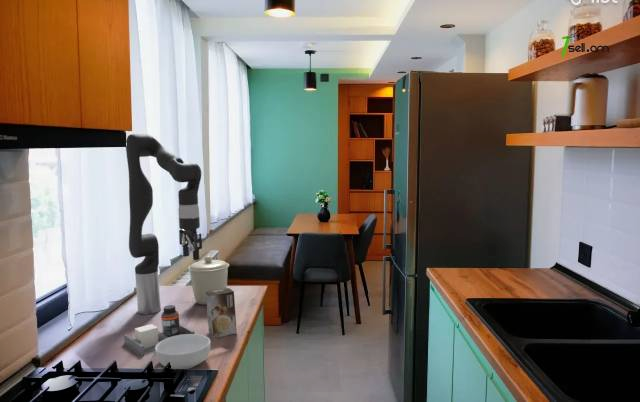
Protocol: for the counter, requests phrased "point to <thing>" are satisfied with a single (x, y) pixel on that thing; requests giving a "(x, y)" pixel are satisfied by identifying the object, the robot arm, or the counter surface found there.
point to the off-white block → (147, 335)
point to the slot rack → (141, 351)
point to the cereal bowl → (183, 350)
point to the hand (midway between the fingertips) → (191, 258)
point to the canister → (208, 277)
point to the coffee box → (221, 312)
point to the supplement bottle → (170, 321)
